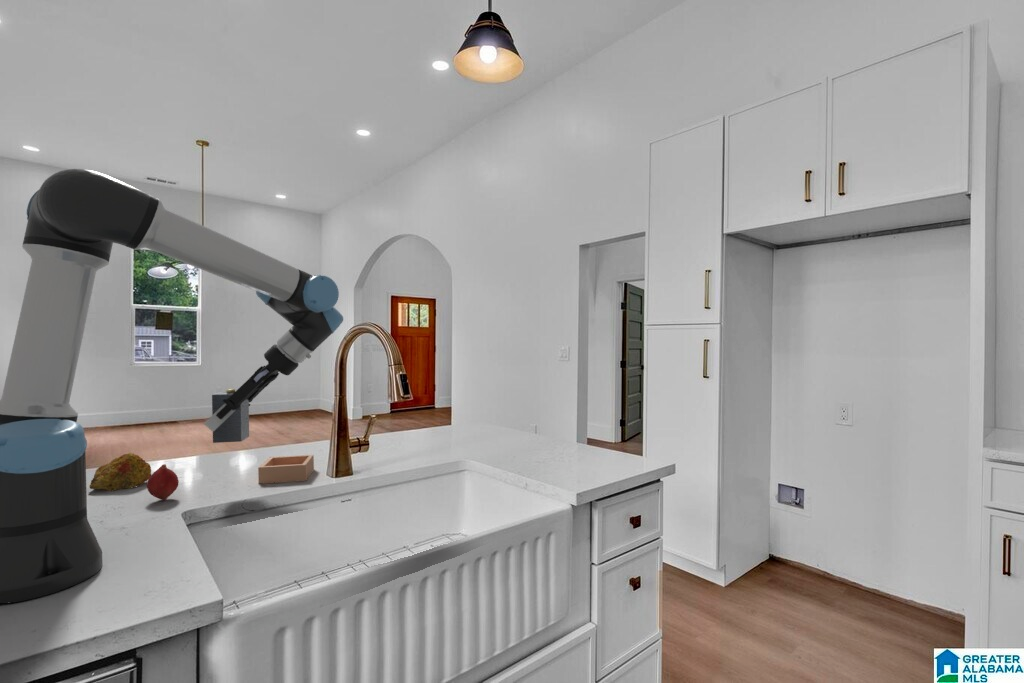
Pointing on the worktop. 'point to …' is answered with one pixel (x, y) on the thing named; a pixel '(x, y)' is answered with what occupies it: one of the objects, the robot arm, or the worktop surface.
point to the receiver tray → (286, 469)
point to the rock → (121, 473)
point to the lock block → (231, 420)
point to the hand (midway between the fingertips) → (214, 424)
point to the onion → (162, 483)
